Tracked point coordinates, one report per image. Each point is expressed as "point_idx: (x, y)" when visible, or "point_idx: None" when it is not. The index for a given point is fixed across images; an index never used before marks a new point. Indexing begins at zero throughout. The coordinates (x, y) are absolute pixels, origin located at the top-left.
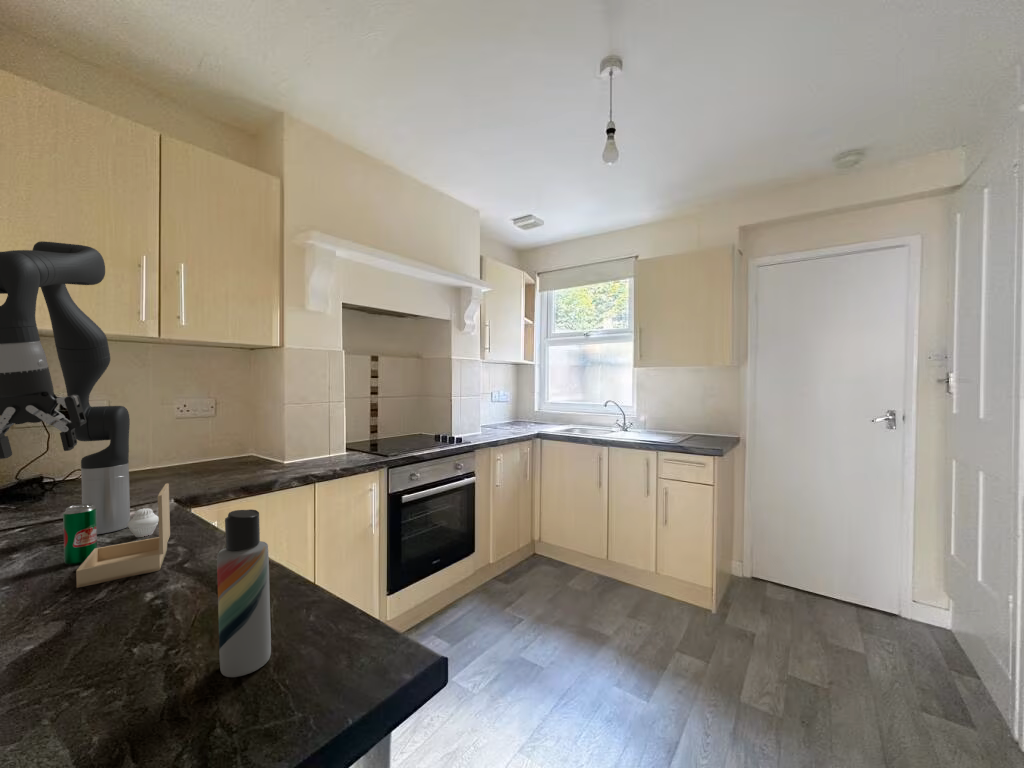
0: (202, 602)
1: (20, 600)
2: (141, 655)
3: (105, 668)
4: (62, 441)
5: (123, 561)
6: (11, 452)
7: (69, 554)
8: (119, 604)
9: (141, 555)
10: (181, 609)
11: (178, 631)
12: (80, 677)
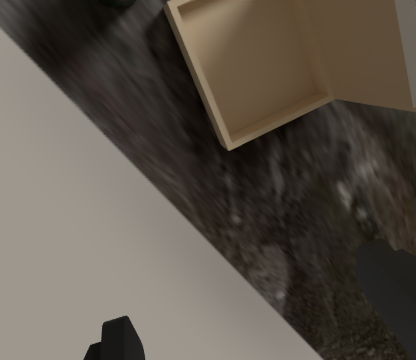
0: (411, 225)
1: (160, 174)
2: None
3: (369, 328)
4: (395, 330)
5: (287, 121)
6: (127, 328)
7: (111, 4)
8: (319, 214)
9: (253, 6)
10: (394, 238)
11: None
12: (356, 337)
